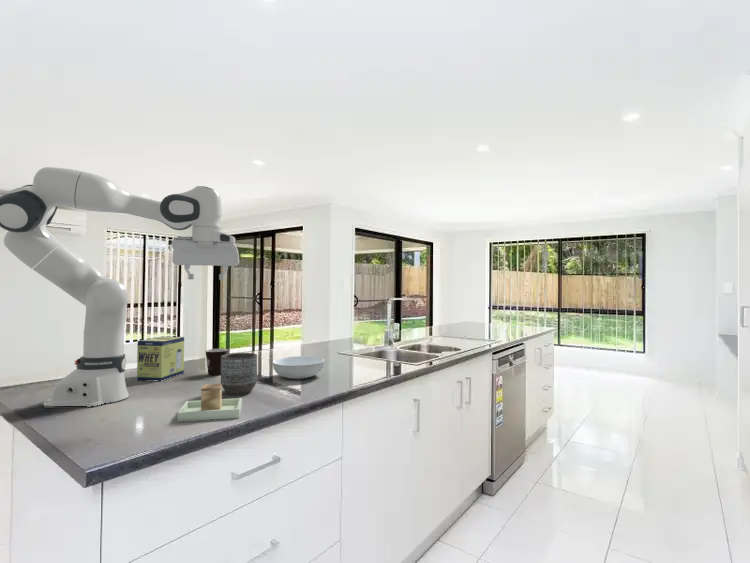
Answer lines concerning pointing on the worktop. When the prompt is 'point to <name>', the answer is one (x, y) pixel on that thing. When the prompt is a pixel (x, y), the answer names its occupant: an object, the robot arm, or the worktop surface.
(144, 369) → the protein box
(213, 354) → the coffee mug
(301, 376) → the serving bowl
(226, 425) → the worktop surface
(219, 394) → the box
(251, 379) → the planter
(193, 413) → the tray
